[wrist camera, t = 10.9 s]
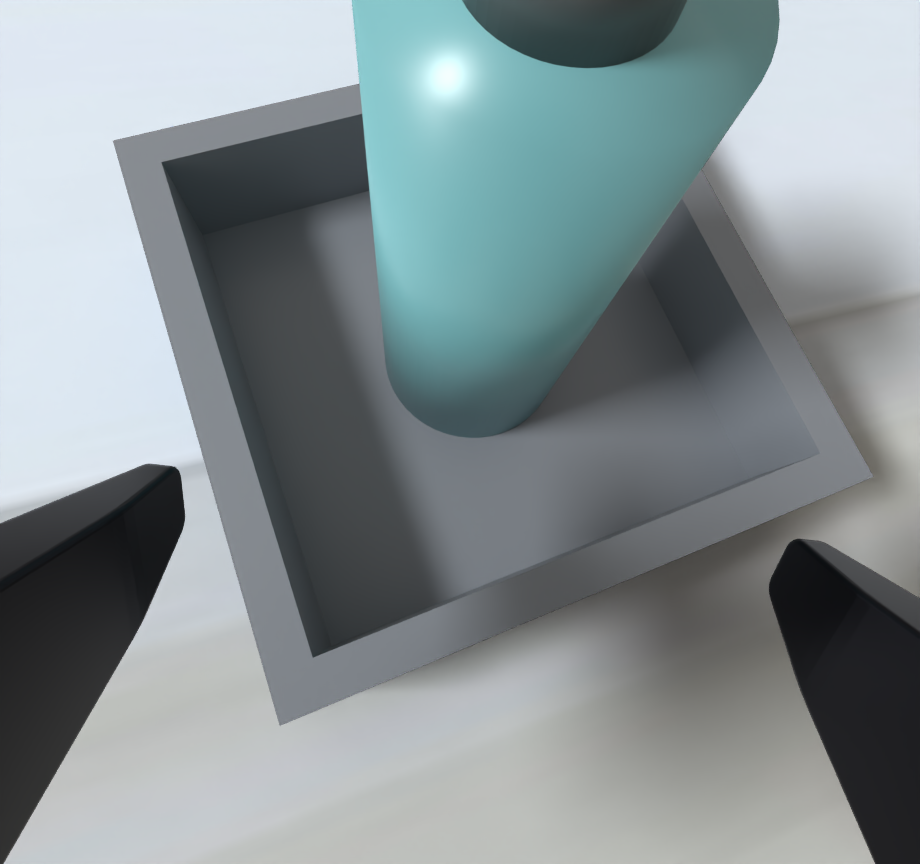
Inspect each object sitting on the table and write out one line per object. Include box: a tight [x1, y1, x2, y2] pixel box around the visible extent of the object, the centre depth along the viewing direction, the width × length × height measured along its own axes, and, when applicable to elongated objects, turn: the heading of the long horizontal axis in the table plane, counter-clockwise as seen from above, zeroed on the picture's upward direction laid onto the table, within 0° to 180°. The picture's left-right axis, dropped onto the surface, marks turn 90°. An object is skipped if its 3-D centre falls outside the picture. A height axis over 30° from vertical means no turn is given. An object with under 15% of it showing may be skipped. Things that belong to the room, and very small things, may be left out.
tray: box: [113, 84, 873, 726], centre depth 17 cm, size 15×15×4 cm
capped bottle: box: [352, 0, 779, 438], centre depth 12 cm, size 5×5×13 cm
